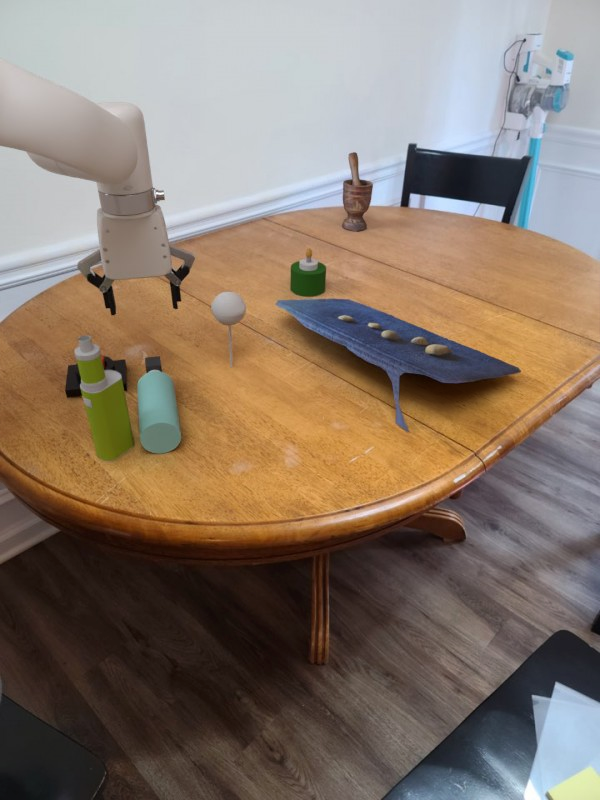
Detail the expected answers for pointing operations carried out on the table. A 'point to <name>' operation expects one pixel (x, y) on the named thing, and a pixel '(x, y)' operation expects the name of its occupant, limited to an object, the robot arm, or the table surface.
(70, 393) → the button box
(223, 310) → the lollipop
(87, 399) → the vape
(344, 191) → the mortar and pestle
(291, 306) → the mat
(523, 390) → the table surface
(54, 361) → the table surface
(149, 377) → the spray bottle
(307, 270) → the candle
